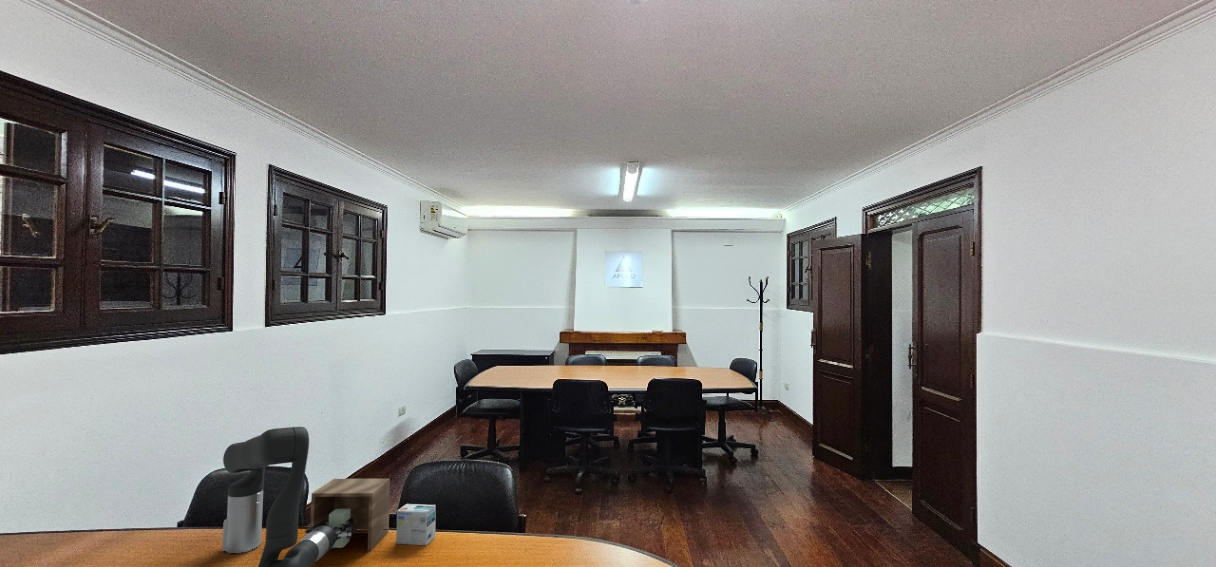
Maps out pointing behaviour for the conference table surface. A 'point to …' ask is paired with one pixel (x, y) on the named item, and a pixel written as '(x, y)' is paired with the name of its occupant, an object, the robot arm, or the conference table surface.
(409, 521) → the light bulb box
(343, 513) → the block
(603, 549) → the conference table surface
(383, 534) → the hutch
